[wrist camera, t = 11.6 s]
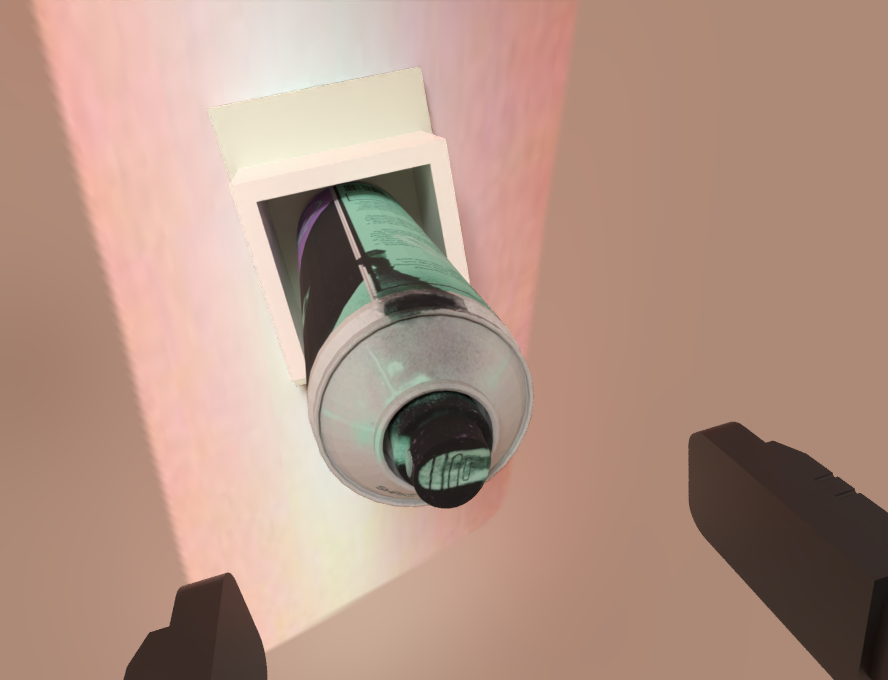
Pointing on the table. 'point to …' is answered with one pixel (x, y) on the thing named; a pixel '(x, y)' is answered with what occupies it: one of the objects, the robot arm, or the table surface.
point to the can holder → (331, 174)
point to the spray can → (402, 356)
